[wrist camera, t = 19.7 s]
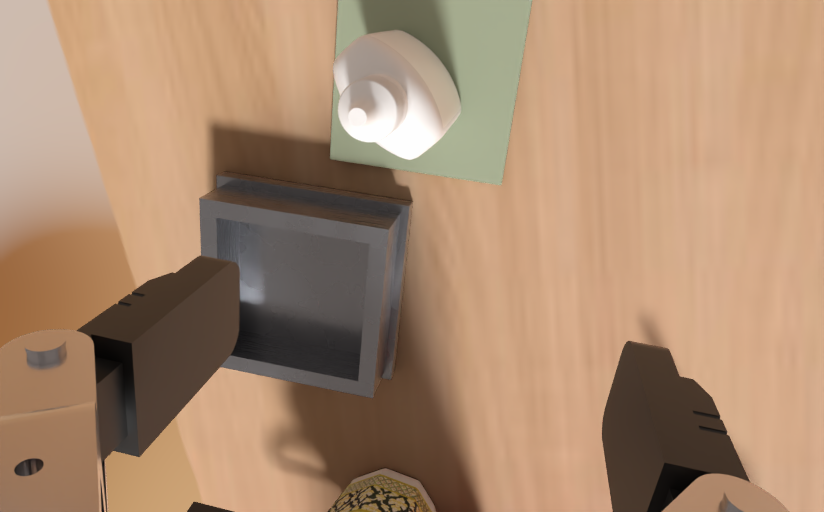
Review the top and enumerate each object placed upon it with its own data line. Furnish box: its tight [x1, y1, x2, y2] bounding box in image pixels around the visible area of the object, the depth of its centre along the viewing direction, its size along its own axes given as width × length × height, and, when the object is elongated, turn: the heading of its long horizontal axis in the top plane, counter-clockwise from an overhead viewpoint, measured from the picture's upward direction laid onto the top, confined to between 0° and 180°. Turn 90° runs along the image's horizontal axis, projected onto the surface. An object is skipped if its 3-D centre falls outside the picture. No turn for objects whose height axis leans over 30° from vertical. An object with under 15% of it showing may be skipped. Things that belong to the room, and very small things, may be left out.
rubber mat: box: [330, 0, 532, 185], centre depth 33 cm, size 10×10×1 cm
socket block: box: [199, 171, 413, 398], centre depth 38 cm, size 12×12×4 cm
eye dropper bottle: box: [333, 30, 461, 160], centre depth 28 cm, size 4×6×12 cm
